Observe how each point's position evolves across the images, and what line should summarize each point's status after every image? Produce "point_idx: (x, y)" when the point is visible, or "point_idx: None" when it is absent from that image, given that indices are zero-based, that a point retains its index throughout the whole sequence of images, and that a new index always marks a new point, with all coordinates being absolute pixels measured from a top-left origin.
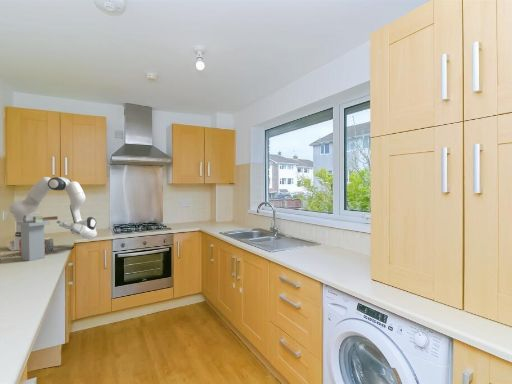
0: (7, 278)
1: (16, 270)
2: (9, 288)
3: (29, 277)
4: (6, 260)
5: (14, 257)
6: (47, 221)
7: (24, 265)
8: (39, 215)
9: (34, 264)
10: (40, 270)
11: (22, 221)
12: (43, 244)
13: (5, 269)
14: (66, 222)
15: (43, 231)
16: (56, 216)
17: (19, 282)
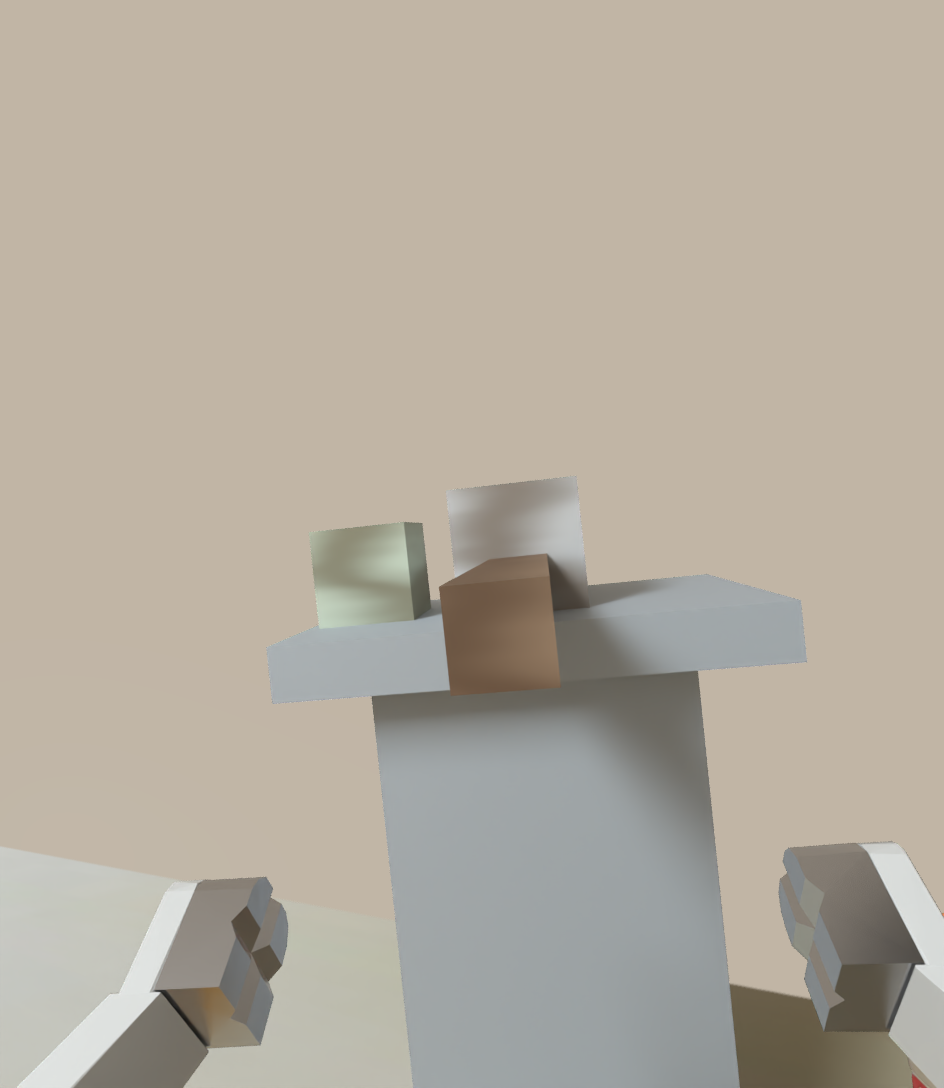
0: (164, 886)
1: None
2: (23, 863)
3: (20, 936)
4: (735, 996)
5: (874, 1083)
6: (308, 641)
7: (334, 1012)
8: (450, 511)
9: (261, 1068)
10: (35, 1018)
11: (682, 581)
12: (414, 1041)
13: (373, 920)
14: (143, 957)
15: (386, 809)
16: (467, 582)
17: (28, 894)
